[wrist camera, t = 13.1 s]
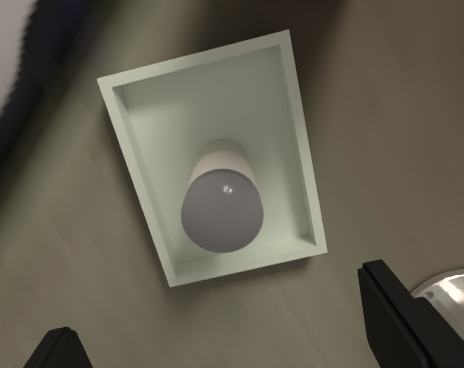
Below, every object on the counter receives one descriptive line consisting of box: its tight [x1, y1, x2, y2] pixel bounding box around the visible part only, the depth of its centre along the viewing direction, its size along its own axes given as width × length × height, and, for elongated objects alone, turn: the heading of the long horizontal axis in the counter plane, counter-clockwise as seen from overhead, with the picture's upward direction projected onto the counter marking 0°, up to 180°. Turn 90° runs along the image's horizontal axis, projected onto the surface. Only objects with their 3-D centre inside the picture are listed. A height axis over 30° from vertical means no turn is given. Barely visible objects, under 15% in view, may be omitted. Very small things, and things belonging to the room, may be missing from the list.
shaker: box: [181, 139, 264, 253], centre depth 24 cm, size 5×5×11 cm
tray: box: [97, 29, 327, 287], centre depth 29 cm, size 14×18×3 cm
